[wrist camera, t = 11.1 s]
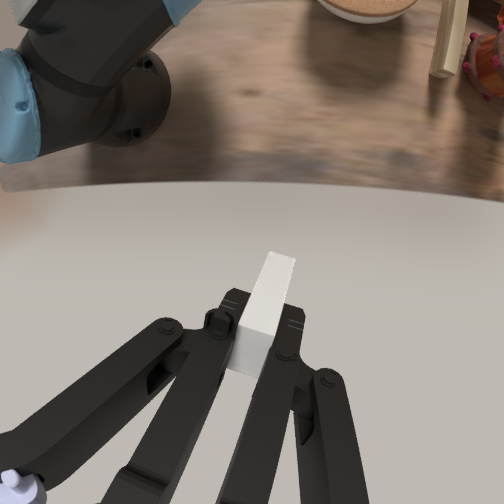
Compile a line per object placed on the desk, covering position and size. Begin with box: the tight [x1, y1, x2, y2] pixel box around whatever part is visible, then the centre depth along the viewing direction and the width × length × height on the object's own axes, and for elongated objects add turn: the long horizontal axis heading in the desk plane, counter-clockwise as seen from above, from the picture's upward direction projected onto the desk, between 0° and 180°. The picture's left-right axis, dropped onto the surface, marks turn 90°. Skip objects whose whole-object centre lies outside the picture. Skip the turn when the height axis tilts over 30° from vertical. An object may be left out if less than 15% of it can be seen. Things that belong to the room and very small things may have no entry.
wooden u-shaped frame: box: [429, 0, 504, 79], centre depth 22 cm, size 15×16×6 cm
